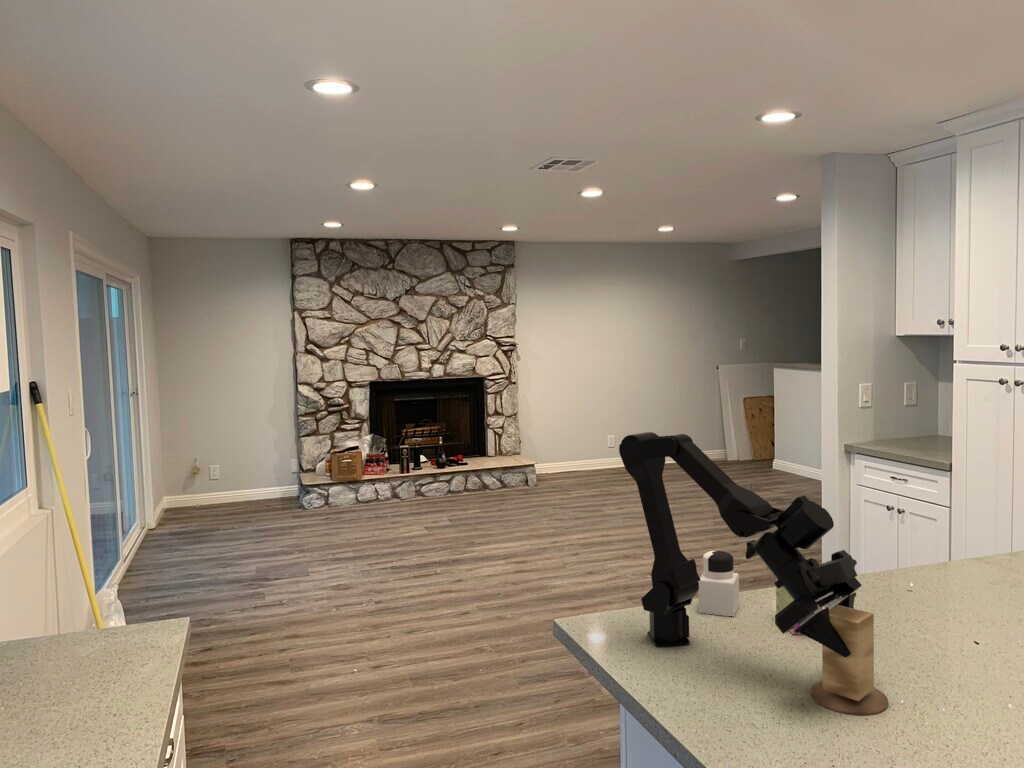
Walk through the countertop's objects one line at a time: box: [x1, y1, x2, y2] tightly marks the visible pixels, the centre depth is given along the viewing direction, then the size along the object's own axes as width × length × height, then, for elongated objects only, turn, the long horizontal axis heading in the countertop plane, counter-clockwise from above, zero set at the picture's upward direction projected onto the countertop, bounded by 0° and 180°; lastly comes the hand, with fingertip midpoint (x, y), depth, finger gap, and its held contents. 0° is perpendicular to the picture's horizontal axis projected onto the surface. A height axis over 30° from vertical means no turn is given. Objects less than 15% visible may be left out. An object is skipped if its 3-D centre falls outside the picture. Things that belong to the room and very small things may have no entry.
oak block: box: [821, 605, 875, 701], centre depth 119 cm, size 6×6×12 cm
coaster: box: [810, 680, 889, 716], centre depth 119 cm, size 11×11×1 cm
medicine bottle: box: [697, 550, 740, 618], centre depth 160 cm, size 7×7×12 cm
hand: (856, 650), depth 118 cm, fingers closed on oak block, 5 cm apart
